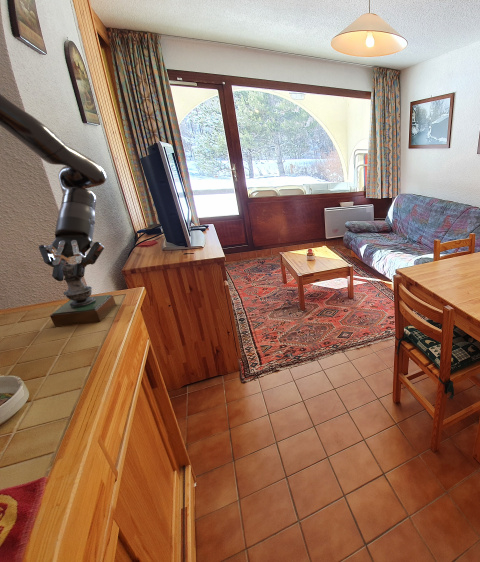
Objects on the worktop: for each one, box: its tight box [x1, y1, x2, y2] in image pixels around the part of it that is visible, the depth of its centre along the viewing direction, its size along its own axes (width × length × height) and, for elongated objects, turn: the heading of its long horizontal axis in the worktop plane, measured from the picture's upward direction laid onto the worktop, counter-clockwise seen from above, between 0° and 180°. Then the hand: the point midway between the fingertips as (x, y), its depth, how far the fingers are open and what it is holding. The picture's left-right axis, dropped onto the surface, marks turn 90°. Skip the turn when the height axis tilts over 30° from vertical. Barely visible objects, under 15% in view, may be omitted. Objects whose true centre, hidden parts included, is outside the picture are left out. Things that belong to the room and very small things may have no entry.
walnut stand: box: [49, 294, 117, 327], centre depth 86 cm, size 10×10×4 cm
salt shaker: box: [61, 261, 95, 307], centre depth 83 cm, size 6×6×12 cm
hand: (68, 279), depth 81 cm, fingers closed on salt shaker, 3 cm apart
